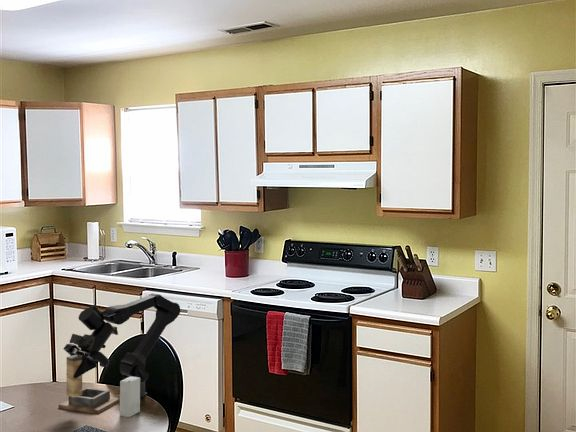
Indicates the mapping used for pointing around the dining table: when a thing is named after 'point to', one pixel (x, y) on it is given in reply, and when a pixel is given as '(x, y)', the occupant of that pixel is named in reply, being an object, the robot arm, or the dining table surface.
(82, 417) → the dining table surface
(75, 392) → the beige tall block
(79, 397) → the peg socket base
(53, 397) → the dining table surface
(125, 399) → the skincare box
